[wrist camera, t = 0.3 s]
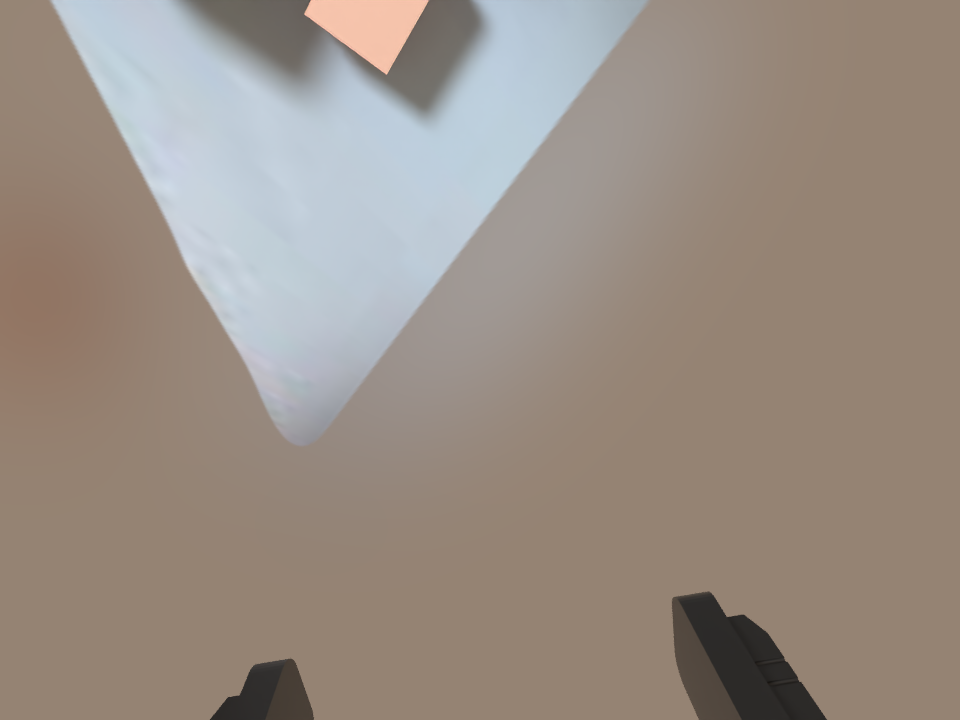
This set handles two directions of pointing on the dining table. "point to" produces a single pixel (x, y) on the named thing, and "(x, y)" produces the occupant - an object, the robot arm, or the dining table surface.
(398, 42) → the light box
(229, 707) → the robot arm
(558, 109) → the dining table surface
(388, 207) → the dining table surface
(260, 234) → the dining table surface
